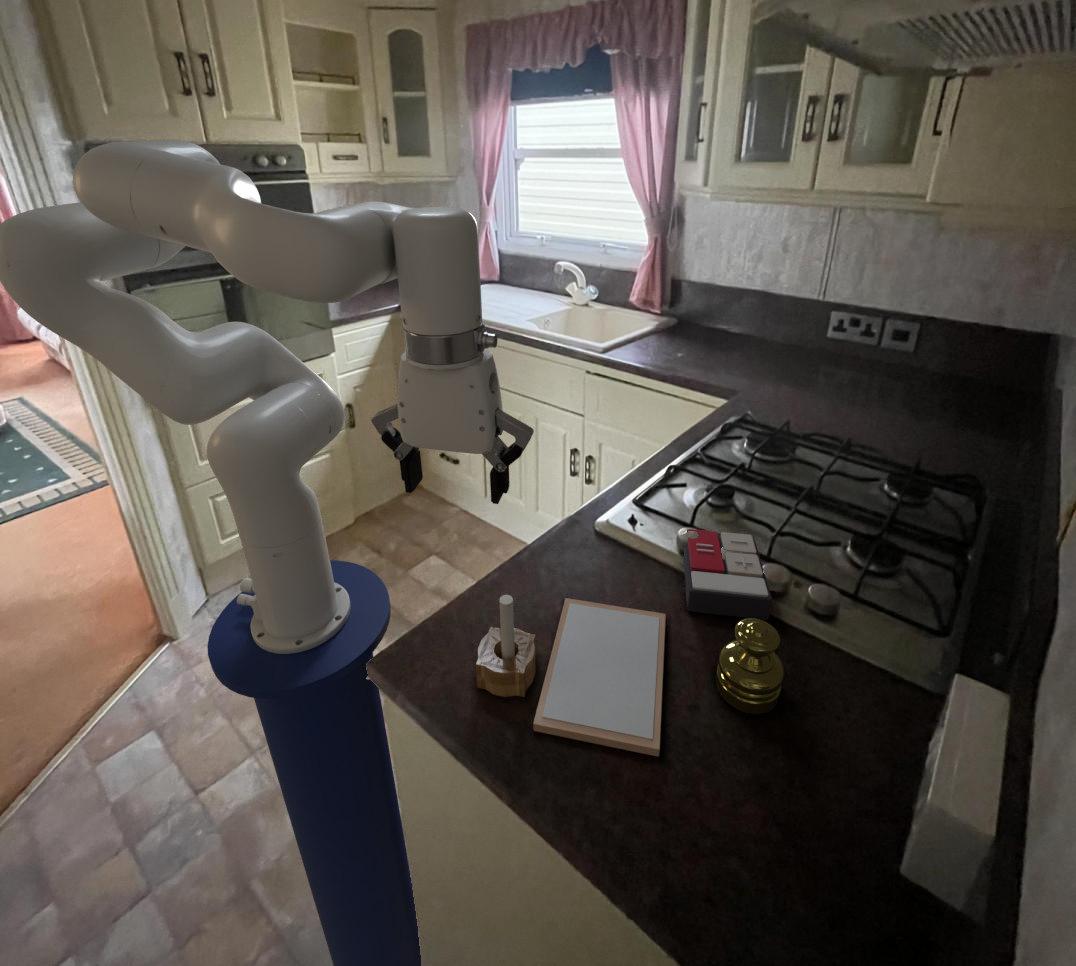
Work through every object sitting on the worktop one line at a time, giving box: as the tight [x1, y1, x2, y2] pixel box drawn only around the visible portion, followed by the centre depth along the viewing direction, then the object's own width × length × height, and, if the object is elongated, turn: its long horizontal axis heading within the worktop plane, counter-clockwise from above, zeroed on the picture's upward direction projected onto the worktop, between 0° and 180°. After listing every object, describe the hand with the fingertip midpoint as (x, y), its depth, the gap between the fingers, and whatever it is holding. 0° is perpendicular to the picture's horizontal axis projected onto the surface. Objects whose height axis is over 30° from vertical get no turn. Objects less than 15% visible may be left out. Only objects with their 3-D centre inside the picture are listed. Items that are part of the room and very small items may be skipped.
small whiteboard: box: [532, 597, 666, 757], centre depth 75 cm, size 14×20×1 cm
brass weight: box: [715, 618, 786, 715], centre depth 70 cm, size 7×7×10 cm
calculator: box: [682, 528, 773, 621], centre depth 89 cm, size 11×4×15 cm
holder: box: [475, 626, 537, 698], centre depth 74 cm, size 7×7×4 cm
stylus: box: [498, 594, 515, 660], centre depth 72 cm, size 2×2×12 cm
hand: (455, 491), depth 65 cm, fingers open, 9 cm apart
